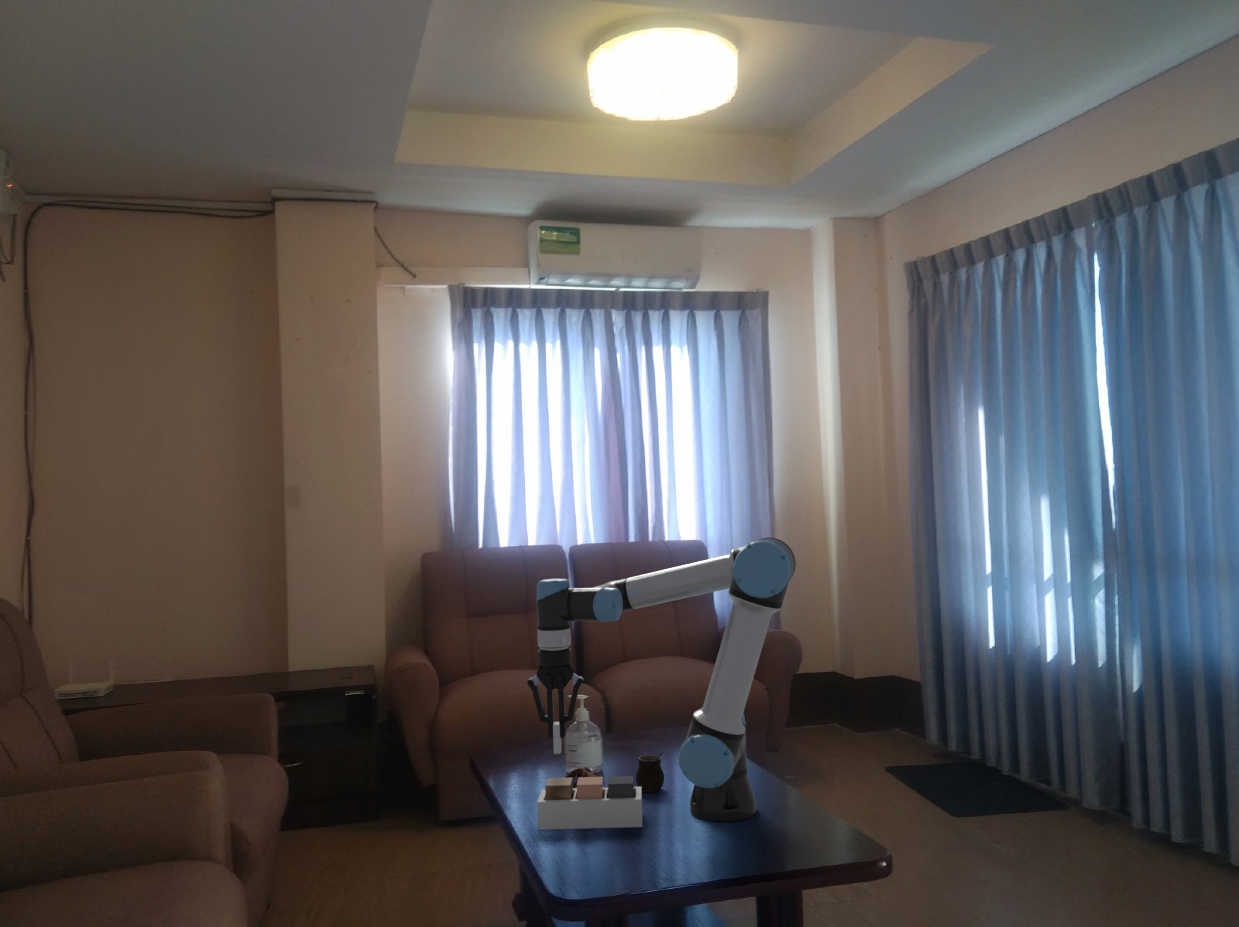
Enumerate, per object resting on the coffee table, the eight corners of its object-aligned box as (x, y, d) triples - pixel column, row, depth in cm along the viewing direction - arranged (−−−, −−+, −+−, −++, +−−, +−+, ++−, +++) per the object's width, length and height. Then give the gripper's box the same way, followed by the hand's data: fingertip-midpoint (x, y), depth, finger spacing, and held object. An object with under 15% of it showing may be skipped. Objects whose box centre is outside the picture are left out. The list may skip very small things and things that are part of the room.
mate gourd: (640, 784, 231) (639, 744, 231) (669, 787, 228) (668, 746, 229) (631, 793, 224) (630, 752, 224) (661, 796, 222) (660, 754, 222)
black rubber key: (634, 797, 208) (633, 775, 208) (633, 806, 203) (633, 783, 203) (609, 798, 208) (609, 776, 209) (608, 806, 203) (607, 784, 203)
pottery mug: (605, 806, 217) (587, 778, 216) (571, 823, 218) (553, 795, 217) (608, 778, 229) (591, 752, 227) (576, 794, 230) (559, 768, 229)
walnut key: (573, 799, 209) (572, 777, 209) (571, 807, 203) (570, 785, 203) (548, 800, 209) (548, 778, 209) (546, 808, 203) (545, 785, 203)
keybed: (642, 812, 210) (641, 786, 210) (642, 826, 201) (641, 799, 201) (542, 815, 210) (542, 789, 211) (538, 829, 201) (537, 802, 202)
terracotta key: (603, 798, 208) (602, 776, 209) (602, 807, 203) (601, 784, 203) (579, 799, 209) (578, 777, 209) (577, 807, 203) (576, 785, 203)
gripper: (584, 643, 211) (587, 747, 210) (528, 645, 211) (531, 748, 210) (581, 649, 204) (585, 756, 203) (523, 650, 204) (526, 757, 203)
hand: (557, 752), depth 207 cm, fingers closed
